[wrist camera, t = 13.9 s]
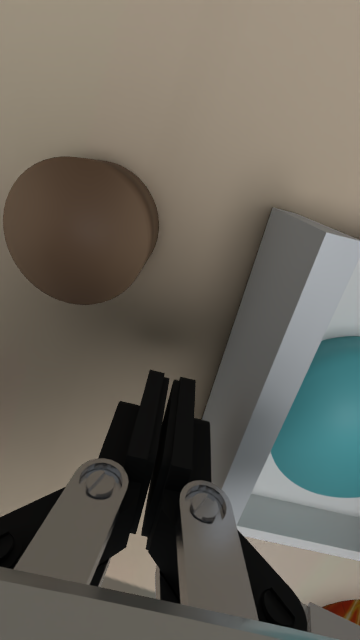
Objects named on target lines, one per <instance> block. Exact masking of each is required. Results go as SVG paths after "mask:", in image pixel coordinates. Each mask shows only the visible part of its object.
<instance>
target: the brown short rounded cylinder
mask: <svg viewBox="0 0 360 640" xmlns="http://www.w3.org/2000/svg"><path fill="white" fill-rule="evenodd" d="M3 228H4V235H5V240H6V243H7V246H8V249H9V252H10V254H11V256H12V258H13V260H14V262H15V264H16V265H17V267H18V268H19V269H20V271H21V272H22V274H23V275H24V276H25V277H26V278H27V279H28V280H29V281H30V282H31V283H32V284H33V285H34V286H35V287H37V288H38V289H40V290H41V291H42V292H44V293H46V294H47V295H49V296H51V297H53V298H55V299H58V300H60V301H64V302H67V303H72V304H80V305H90V304H97V303H102V302H105V301H108V300H111V299H113V298H115V297H116V296H118V295H120V294H121V293H122V292H124V291H125V290H126V289H127V288H128V287H129V286H130V285H131V284H132V283H133V282H134V280H135V279H136V278H137V276H138V274H139V273H140V271H141V269H142V268H143V266H144V265H145V263H146V261H147V260H148V258H149V256H150V255H151V253H152V251H153V249H154V247H155V245H156V241H157V238H158V231H159V220H158V213H157V208H156V205H155V202H154V200H153V198H152V196H151V194H150V192H149V190H148V189H147V187H146V186H145V185H144V183H143V182H142V181H141V180H140V179H139V178H138V177H137V176H136V175H134V174H133V173H132V172H130V171H129V170H127V169H126V168H124V167H122V166H120V165H118V164H115V163H112V162H107V161H101V160H94V159H86V158H78V157H54V158H50V159H46V160H43V161H41V162H39V163H36V164H34V165H33V166H31V167H30V168H28V169H27V170H26V171H25V172H24V173H23V174H21V175H20V177H19V178H18V179H17V180H16V182H15V183H14V184H13V186H12V188H11V190H10V192H9V194H8V197H7V199H6V203H5V207H4V215H3Z"/></svg>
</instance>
